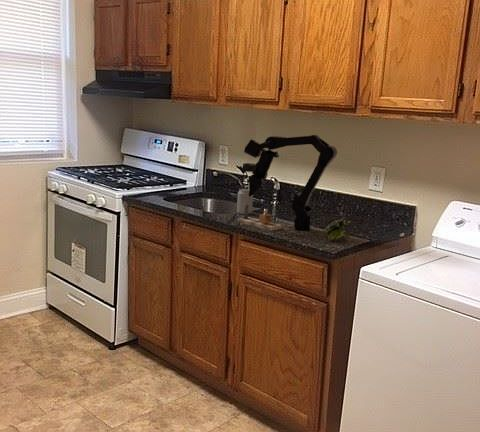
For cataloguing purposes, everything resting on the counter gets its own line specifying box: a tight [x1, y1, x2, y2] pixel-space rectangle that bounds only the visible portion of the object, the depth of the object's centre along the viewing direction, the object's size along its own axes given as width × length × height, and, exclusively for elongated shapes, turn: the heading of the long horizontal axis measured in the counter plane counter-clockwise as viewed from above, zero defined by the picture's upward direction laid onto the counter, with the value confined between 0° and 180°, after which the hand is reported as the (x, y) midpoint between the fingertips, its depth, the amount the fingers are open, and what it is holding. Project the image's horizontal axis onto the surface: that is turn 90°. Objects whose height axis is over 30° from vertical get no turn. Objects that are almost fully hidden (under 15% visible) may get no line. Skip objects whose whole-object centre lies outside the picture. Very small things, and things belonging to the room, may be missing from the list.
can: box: [236, 188, 254, 215], centre depth 268 cm, size 8×8×12 cm
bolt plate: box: [236, 204, 283, 232], centre depth 243 cm, size 21×7×8 cm, turn 46°
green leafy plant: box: [324, 216, 352, 242], centre depth 223 cm, size 11×11×12 cm
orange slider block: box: [259, 208, 273, 224], centre depth 241 cm, size 4×4×6 cm
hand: (251, 193), depth 246 cm, fingers open, 9 cm apart
